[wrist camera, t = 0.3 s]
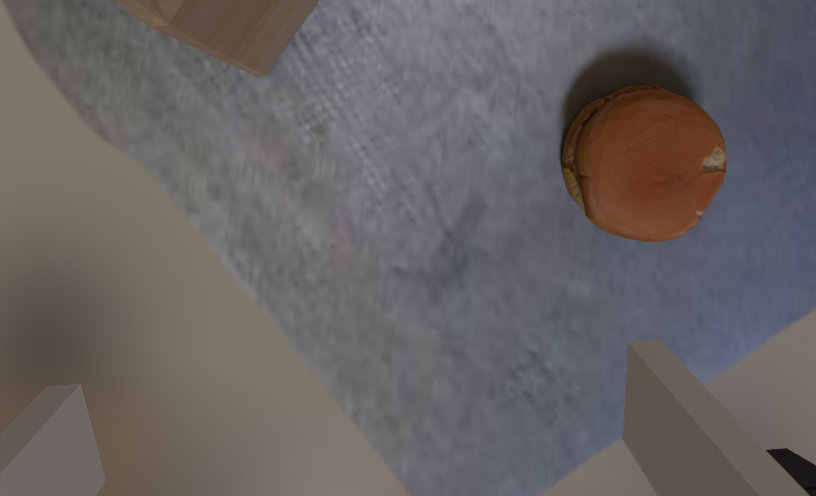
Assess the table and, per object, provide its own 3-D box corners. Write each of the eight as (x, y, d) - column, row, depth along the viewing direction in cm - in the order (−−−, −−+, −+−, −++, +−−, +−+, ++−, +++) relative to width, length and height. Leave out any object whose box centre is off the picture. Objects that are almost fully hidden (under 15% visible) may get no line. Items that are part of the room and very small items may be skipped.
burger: (537, 127, 39) (561, 128, 35) (666, 63, 39) (707, 55, 35) (593, 259, 41) (622, 276, 37) (715, 199, 41) (760, 208, 37)
